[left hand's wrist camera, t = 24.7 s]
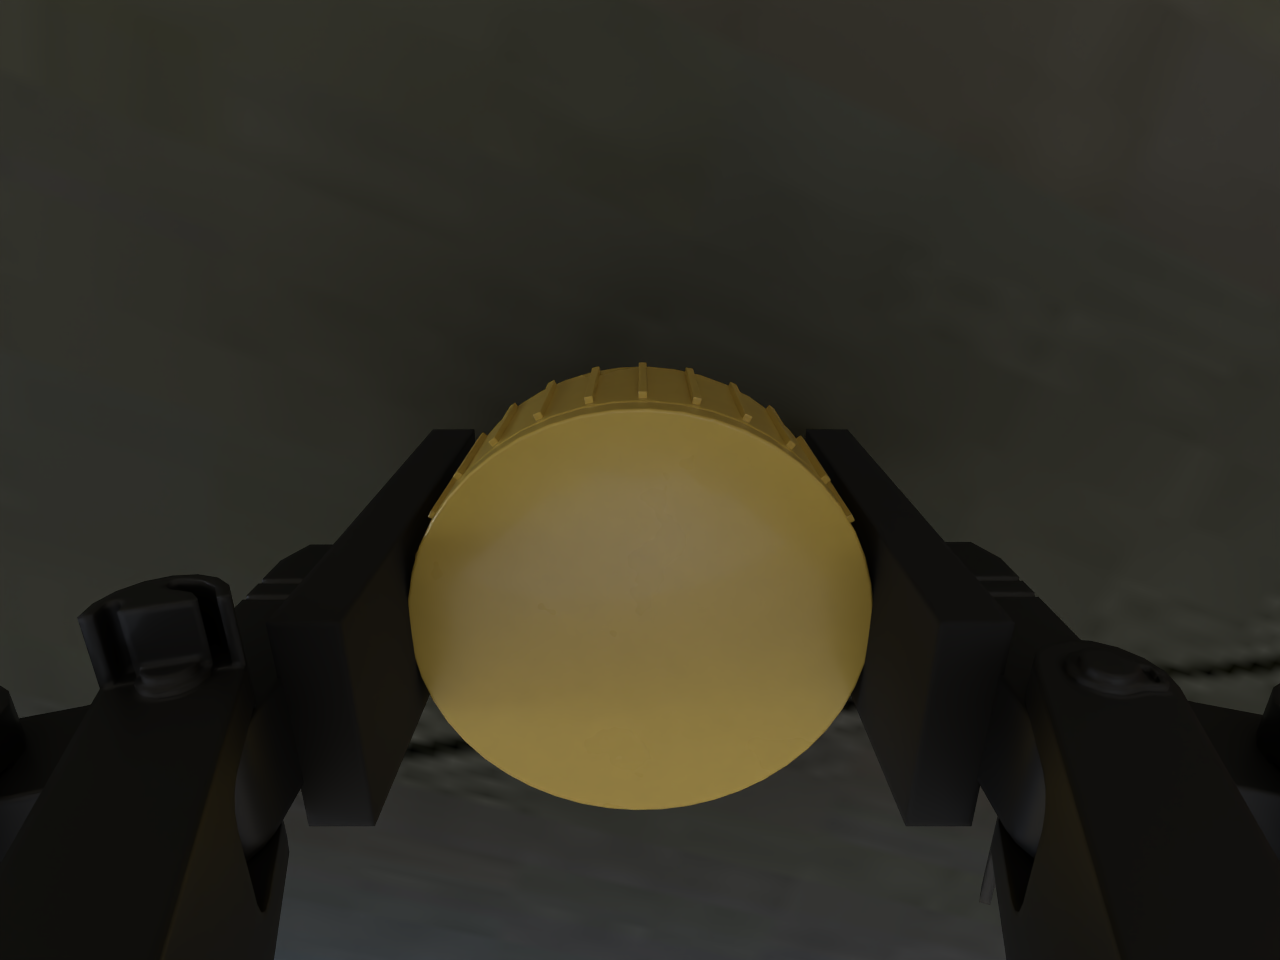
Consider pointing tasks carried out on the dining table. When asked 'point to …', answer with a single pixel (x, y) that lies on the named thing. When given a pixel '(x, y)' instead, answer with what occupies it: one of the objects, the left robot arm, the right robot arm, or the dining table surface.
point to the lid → (640, 592)
